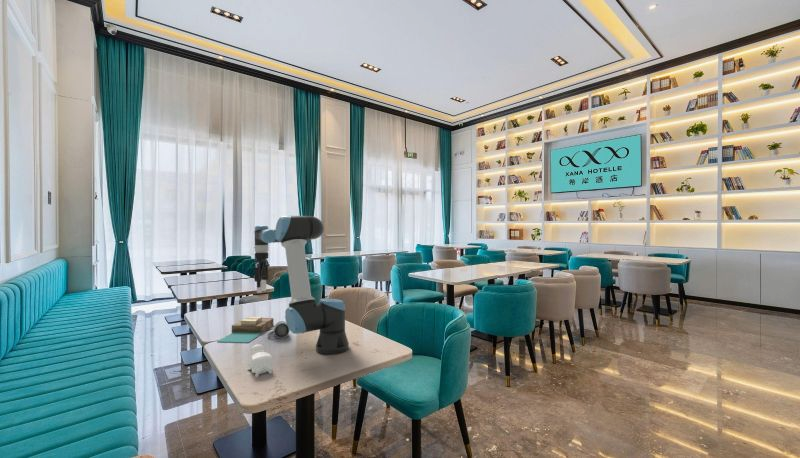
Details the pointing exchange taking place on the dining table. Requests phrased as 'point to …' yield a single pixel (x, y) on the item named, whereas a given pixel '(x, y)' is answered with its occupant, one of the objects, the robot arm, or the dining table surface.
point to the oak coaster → (251, 320)
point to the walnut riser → (253, 326)
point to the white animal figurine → (260, 360)
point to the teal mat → (240, 337)
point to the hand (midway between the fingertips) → (261, 291)
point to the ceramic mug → (279, 330)
